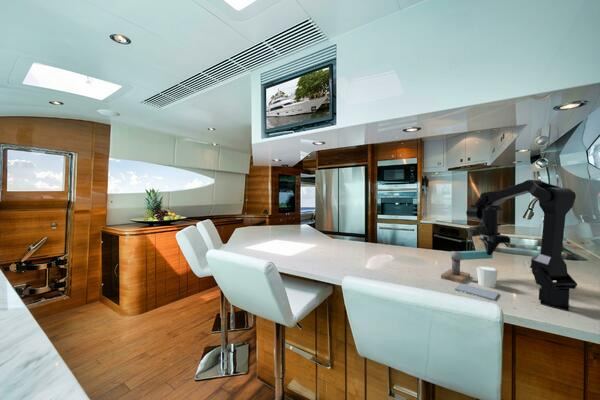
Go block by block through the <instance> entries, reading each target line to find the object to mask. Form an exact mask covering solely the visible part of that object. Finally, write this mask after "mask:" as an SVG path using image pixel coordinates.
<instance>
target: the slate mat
mask: <svg viewBox="0 0 600 400" xmlns="http://www.w3.org/2000/svg"><path fill="white" fill-rule="evenodd" d="M454 291H458V292H460V291H462V292H461V293H464V292H466V293H465V294H468V293H471V294H473V295H472V296H475V295H476V296H475V297H479V298H483V299H487V300H490V301H494V302H495V301H496V300H497V298H498V296H499V292H497V291H492V290H490V289H489V290H488V289H485V288H482V287H476V286H473V285H469V284H465V283H459V284H458V286H456V287H455V288H454ZM471 294H470V295H471Z"/></svg>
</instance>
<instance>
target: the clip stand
mask: <svg viewBox="0 0 600 400" xmlns="http://www.w3.org/2000/svg"><path fill="white" fill-rule="evenodd" d="M470 277H471V273H470V272H469V273H468V272H465V271H461V260H460V261H458V260H453V259H451V268H450V269H448V270H446V271H444V272H443V273H441V275H440V279H443V280H446V281H450V282H456V283H459V284H461V283H462V284H464V283H465V282H466V281H467V280H468V279H470Z"/></svg>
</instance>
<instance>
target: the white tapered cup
mask: <svg viewBox="0 0 600 400" xmlns="http://www.w3.org/2000/svg"><path fill="white" fill-rule="evenodd" d="M498 273H499V270H498V269H497V268H495V267H491V266H487V265H478V266H476V274H477V284H478V285H479V286H481V287H484V286H485V288H492V289H493V288H496V285H497V278H498Z"/></svg>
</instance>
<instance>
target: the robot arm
mask: <svg viewBox="0 0 600 400" xmlns="http://www.w3.org/2000/svg"><path fill="white" fill-rule="evenodd" d="M529 193H530V195H531V196H533V197H534V198H536V199H538V206H539V208H540V209H541V210H542V212H543V222H542V223H543V224H542V234H541V243H540V244H541V246H540V247H541V248H540V253H539V255H538V256H532V257H531V258H530V261H531V263H530V266H529V268H530V269H531V273H532V275H533V277H534V280H535V283H536V285H539V288H538V300H539V303H540V304H541V305H544V306H549V307H553V308H557V309H561V310H564V311H570V290H575V289H576V287H577V286H578V283H577V281H575V279H574V278H573V277H572V276H571V275H570V274H569V273H568V266H567V263H566V262H565V259H564V258H563V257H562V254H563V253H562V252H563V245H564V244H563V243H564V234H565V224H566V216H567V214H568V213H569V212H570V211H571V210H572V209H573V207H574V204H575V202H576V198H577V194H576V193H575V192H574V191H573V189H570V188H569V187H560V186H557V185H554V184H551V183H547V182H545V181H543V180H541V179H540V180H539V179H527V180H525V181H523V182H520V183H517V184H514V185H511V186H508V187H506V188H503V189H500V190H494V191H493V190H492V191H486V192H482V193H481V194H480V195H479V197H478V199H477V200H476V202H475V203H474V204H470V206H469V207H468V208H467V209H466V211H465V213H466V216H467V217H468V218H469V219H476V220H481V221H479V223H478V225H474V226H472V227H471V226H470V227H468V228H466V231H467V234H468V236H469V237H472V238H473V237H479V238H478V239H479V241H481V242H482V243H483V245H484V249H485V250H486V252H487V255H492V253H493V254H494V252H495V250H496V249H497V248H498V246H499V245H500V244H511V237H509V236H508V235H503V234H501V232H499V226H500V227H501V226H502V224H501V223H500V222H499V212H504V208H502V207H501V206H500V205H501V204H503V203H505V202H506V201H507V200H509V199H512V198H516V197H519V196H523V195H525V194H529Z"/></svg>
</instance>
